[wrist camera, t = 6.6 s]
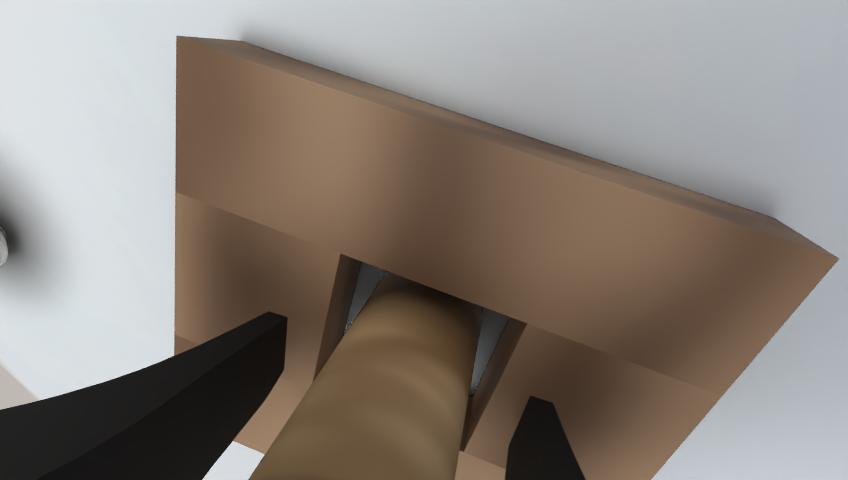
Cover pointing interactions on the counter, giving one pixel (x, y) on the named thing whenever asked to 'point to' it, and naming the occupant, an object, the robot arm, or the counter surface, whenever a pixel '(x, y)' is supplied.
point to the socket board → (468, 255)
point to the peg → (386, 393)
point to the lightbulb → (3, 247)
